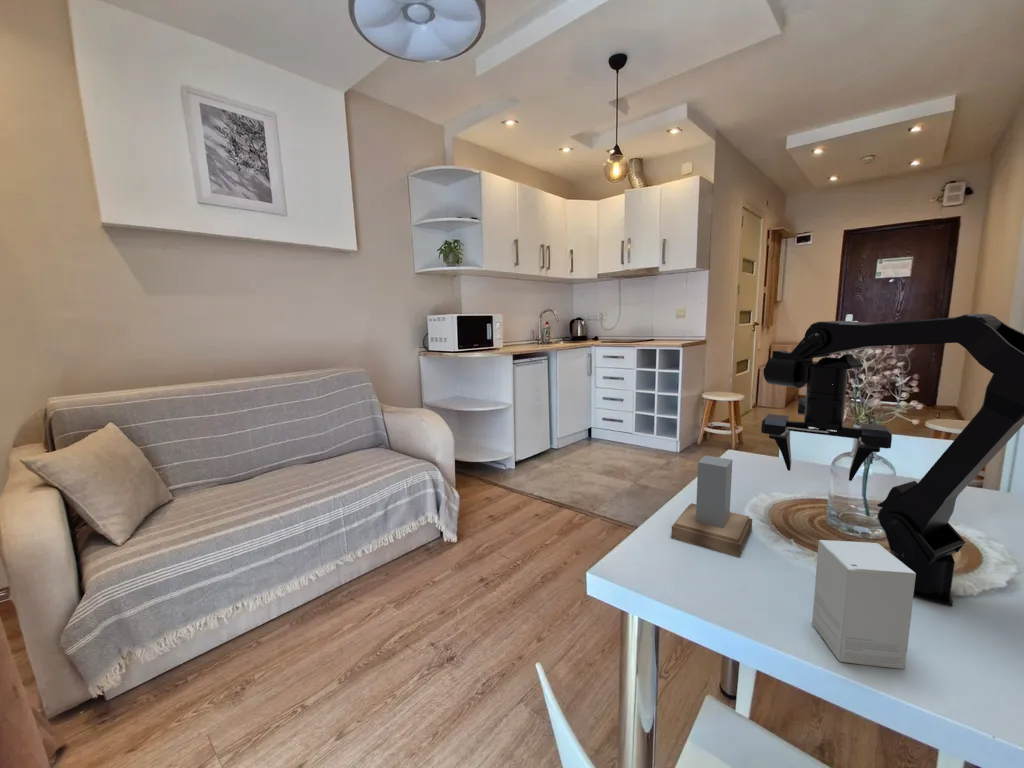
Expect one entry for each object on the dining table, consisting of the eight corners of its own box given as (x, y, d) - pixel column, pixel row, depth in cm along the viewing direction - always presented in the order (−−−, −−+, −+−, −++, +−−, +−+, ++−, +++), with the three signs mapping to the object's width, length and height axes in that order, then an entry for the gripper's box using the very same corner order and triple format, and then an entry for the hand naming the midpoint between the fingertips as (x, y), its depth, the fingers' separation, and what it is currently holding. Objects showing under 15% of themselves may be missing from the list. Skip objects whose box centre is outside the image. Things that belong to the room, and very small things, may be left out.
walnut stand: (751, 530, 86) (752, 516, 86) (739, 557, 77) (740, 541, 76) (689, 514, 93) (689, 501, 93) (671, 537, 84) (671, 523, 84)
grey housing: (729, 518, 85) (732, 459, 83) (723, 528, 81) (726, 467, 79) (702, 511, 88) (704, 455, 86) (695, 521, 84) (698, 462, 82)
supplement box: (907, 671, 52) (919, 574, 50) (837, 662, 53) (846, 568, 51) (870, 628, 59) (879, 541, 57) (809, 621, 61) (816, 537, 59)
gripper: (891, 389, 78) (882, 472, 80) (771, 382, 89) (766, 454, 92) (896, 399, 69) (886, 491, 72) (763, 390, 81) (758, 470, 83)
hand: (818, 474), depth 80 cm, fingers open, 9 cm apart
